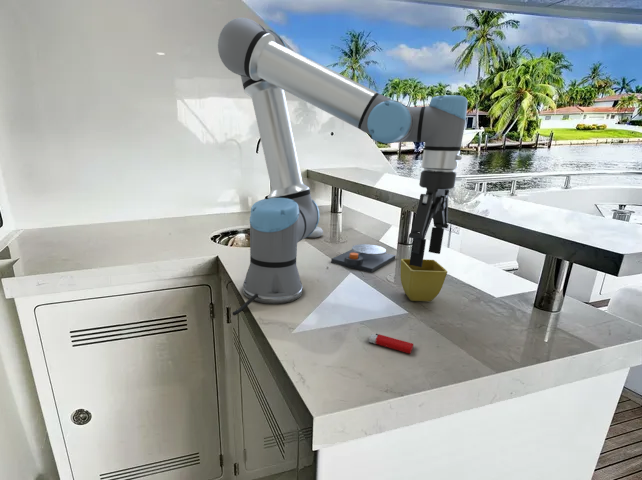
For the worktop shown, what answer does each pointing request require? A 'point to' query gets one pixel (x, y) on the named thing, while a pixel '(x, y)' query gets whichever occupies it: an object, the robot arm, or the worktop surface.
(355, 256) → the tare button
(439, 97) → the robot arm
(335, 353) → the worktop surface
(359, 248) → the scale pan
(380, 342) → the lighter
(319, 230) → the donut
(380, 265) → the scale
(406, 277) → the flower pot
